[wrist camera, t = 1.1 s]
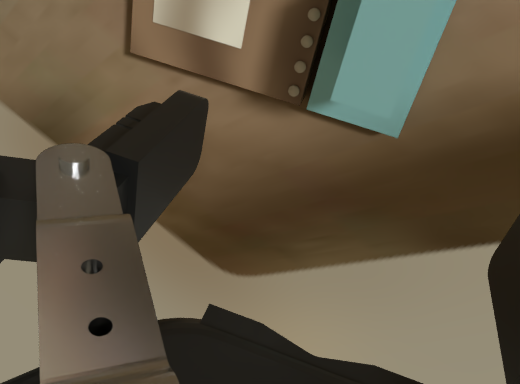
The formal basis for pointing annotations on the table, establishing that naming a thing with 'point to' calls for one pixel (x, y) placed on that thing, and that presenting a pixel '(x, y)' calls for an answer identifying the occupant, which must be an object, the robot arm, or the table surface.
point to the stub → (377, 60)
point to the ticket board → (235, 40)
